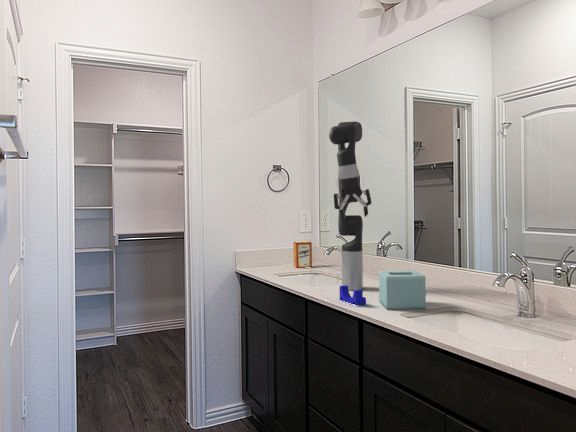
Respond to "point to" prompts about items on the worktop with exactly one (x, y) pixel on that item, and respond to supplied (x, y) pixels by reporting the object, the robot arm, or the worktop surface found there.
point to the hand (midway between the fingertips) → (354, 217)
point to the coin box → (402, 290)
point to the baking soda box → (302, 254)
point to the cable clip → (356, 298)
